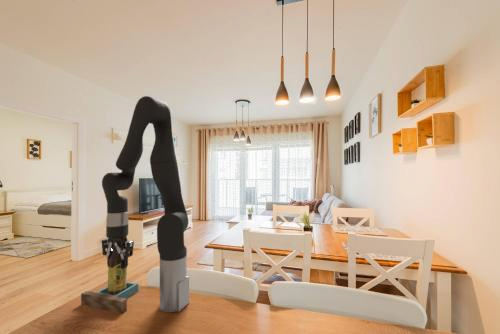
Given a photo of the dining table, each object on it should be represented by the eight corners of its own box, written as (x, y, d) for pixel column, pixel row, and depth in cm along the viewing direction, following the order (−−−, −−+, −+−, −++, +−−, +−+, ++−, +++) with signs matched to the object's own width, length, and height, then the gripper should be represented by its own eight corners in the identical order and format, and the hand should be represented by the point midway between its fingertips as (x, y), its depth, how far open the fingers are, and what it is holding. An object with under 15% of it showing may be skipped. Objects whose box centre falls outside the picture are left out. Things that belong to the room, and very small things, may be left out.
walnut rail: (126, 310, 81) (126, 298, 81) (121, 313, 79) (121, 301, 79) (86, 301, 86) (86, 290, 87) (81, 304, 85) (81, 293, 85)
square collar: (138, 291, 94) (138, 283, 94) (114, 305, 84) (114, 297, 84) (119, 287, 97) (119, 280, 97) (94, 301, 87) (94, 293, 87)
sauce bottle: (118, 297, 86) (118, 243, 87) (103, 296, 88) (103, 242, 88) (130, 289, 93) (130, 238, 94) (116, 287, 94) (116, 238, 95)
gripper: (139, 222, 92) (139, 265, 92) (111, 221, 97) (111, 261, 96) (124, 226, 85) (123, 273, 85) (94, 224, 90) (94, 269, 89)
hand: (117, 267), depth 91 cm, fingers closed on sauce bottle, 6 cm apart
